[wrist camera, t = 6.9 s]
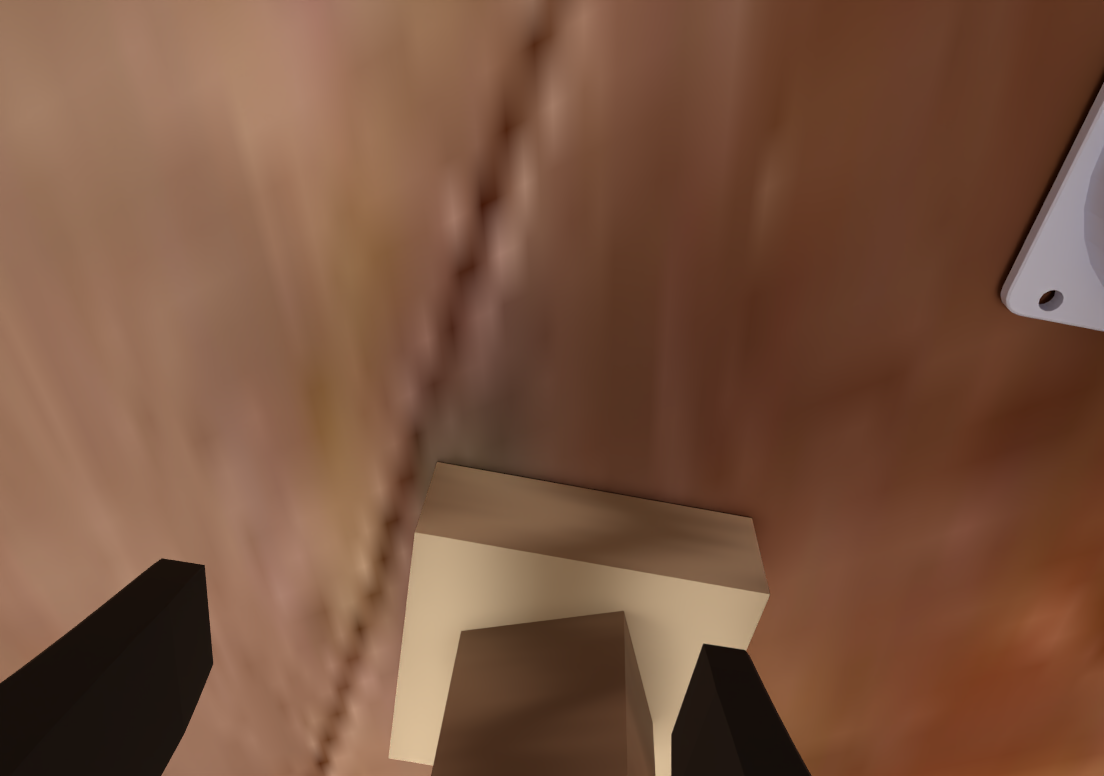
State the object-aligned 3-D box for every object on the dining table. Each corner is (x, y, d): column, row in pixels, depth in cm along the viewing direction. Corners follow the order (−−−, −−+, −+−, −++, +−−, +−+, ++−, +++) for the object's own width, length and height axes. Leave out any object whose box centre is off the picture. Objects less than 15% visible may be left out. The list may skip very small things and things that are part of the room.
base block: (751, 518, 23) (769, 594, 20) (673, 722, 28) (679, 806, 25) (436, 461, 23) (414, 532, 20) (409, 678, 27) (388, 758, 25)
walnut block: (623, 610, 21) (627, 790, 17) (652, 722, 23) (662, 908, 19) (461, 631, 22) (424, 808, 17) (503, 737, 24) (480, 919, 19)
